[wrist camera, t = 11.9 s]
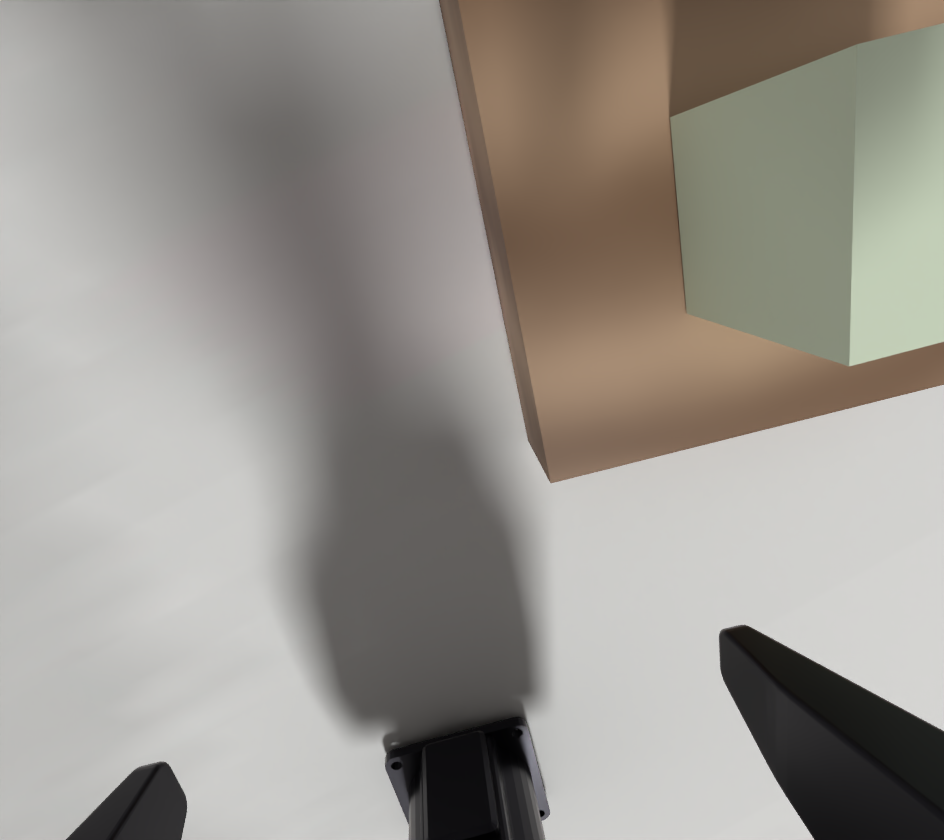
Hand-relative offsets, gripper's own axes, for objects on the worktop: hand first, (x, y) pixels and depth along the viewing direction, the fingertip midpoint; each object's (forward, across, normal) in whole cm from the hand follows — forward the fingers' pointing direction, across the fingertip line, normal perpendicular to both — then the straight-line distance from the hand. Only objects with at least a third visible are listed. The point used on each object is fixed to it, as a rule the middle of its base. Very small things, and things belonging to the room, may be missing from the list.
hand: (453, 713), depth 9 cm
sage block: (+8, -10, -6) cm, 15 cm away
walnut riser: (+12, -10, -7) cm, 17 cm away
